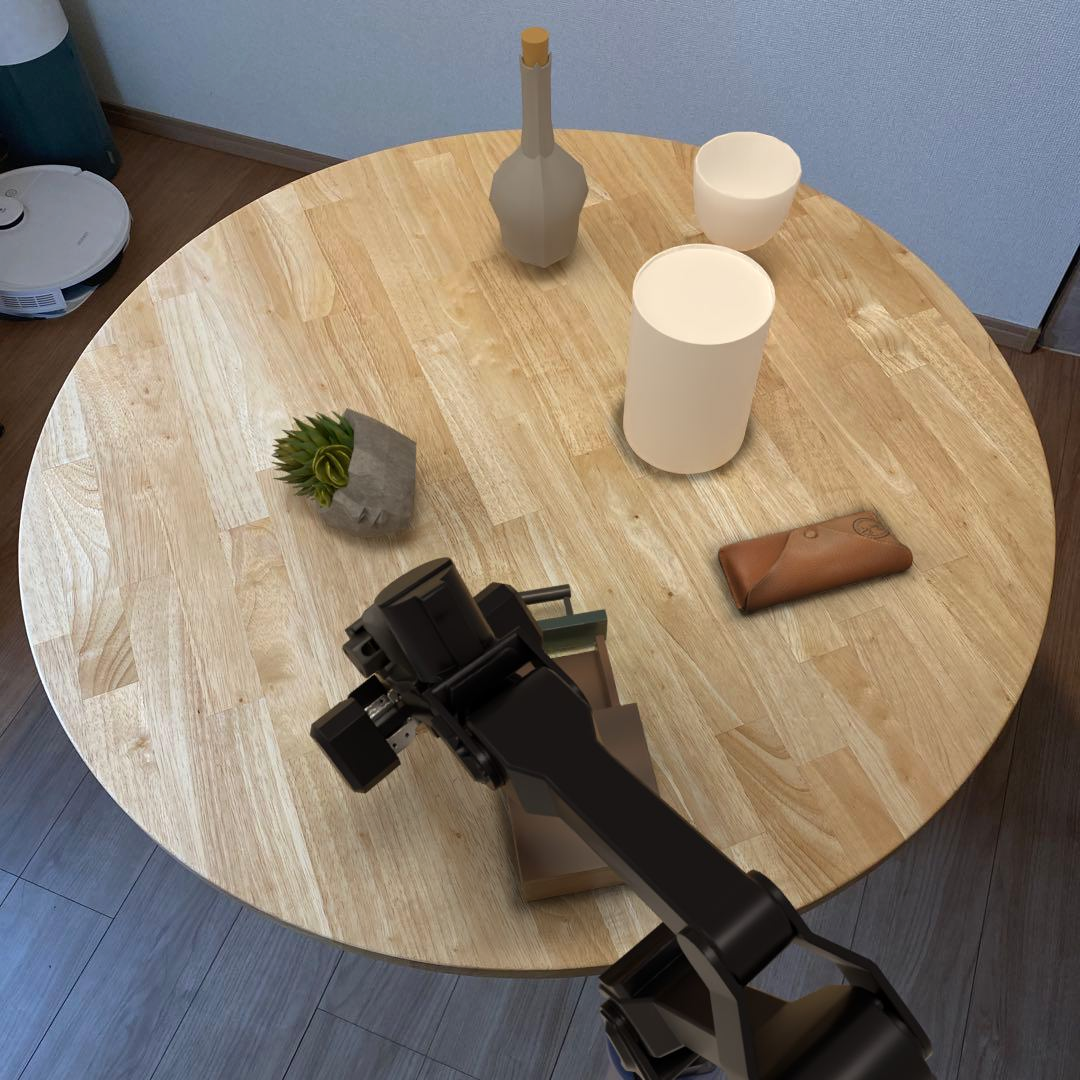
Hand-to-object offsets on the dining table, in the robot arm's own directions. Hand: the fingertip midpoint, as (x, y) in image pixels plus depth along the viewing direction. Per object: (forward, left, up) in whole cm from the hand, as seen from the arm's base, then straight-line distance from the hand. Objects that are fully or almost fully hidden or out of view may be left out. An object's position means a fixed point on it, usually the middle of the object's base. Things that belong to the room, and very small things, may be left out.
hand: (395, 668), depth 87 cm
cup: (+52, -45, -13) cm, 69 cm away
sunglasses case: (+10, -42, -13) cm, 45 cm away
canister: (+31, -34, -13) cm, 47 cm away
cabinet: (-10, -14, -13) cm, 22 cm away
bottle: (+60, -23, -13) cm, 65 cm away
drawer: (+2, -14, -12) cm, 19 cm away
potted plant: (+27, +3, -13) cm, 30 cm away
